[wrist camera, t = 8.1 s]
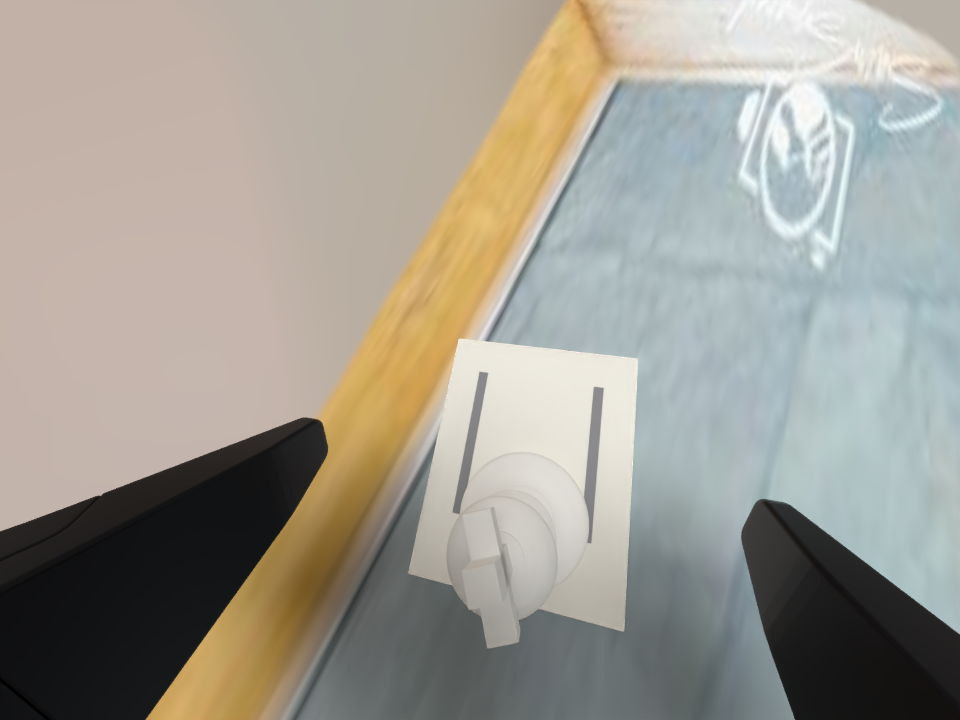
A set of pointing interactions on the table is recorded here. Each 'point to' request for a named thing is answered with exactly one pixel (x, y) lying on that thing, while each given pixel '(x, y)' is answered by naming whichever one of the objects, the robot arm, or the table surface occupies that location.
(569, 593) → the slotted cream plate
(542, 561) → the chess piece
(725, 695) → the table surface
